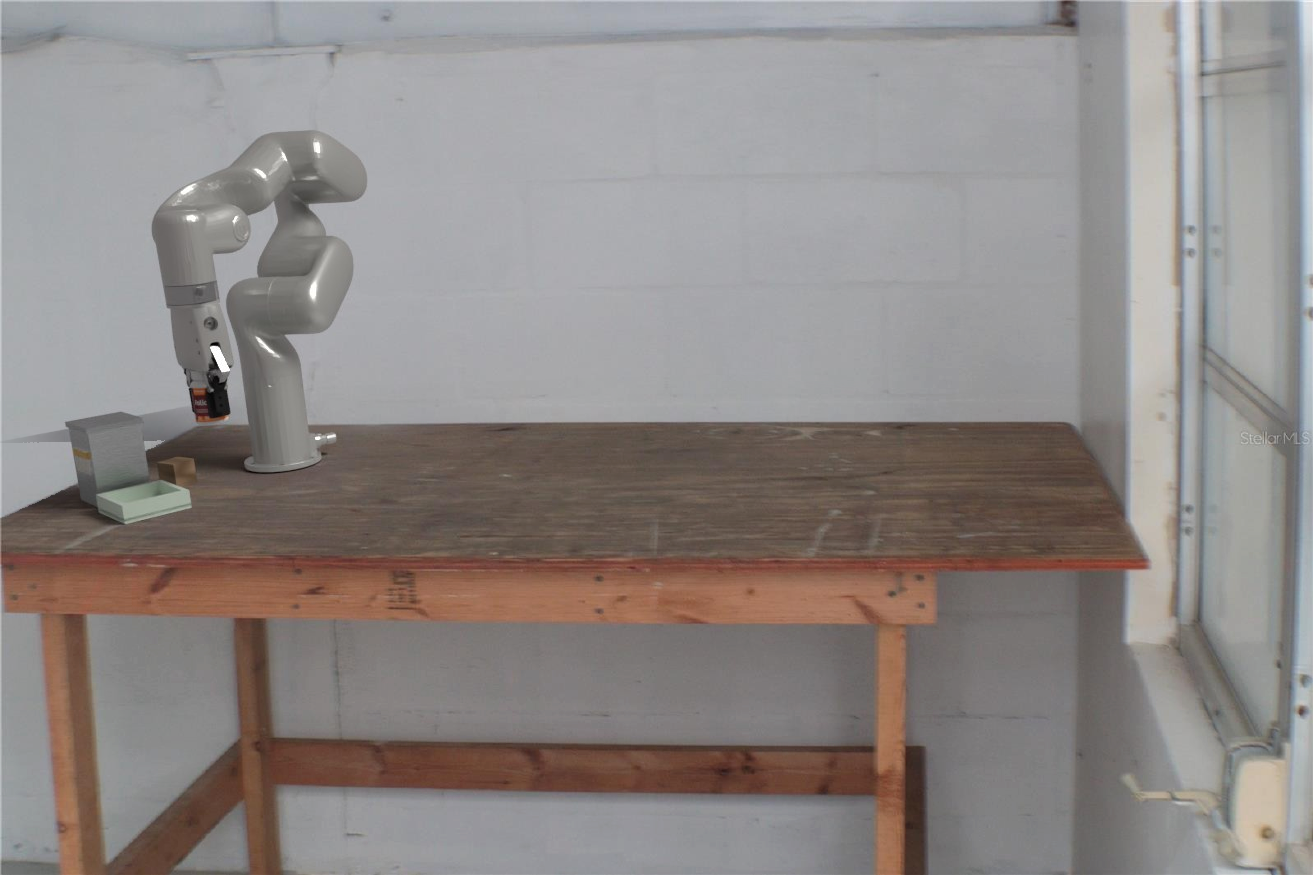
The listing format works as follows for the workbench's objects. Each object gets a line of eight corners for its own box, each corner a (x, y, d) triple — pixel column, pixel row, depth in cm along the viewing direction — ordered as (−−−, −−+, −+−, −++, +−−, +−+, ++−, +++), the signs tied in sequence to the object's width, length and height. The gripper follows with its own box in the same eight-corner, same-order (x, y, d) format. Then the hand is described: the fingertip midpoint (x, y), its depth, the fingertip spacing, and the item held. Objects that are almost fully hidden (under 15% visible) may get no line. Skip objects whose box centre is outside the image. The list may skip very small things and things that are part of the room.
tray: (163, 496, 190) (161, 479, 189) (191, 507, 183) (189, 489, 182) (98, 512, 183) (95, 494, 182) (125, 524, 176) (122, 505, 175)
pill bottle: (195, 427, 182) (185, 373, 180) (197, 420, 187) (188, 367, 184) (228, 423, 183) (219, 369, 181) (229, 416, 188) (221, 363, 185)
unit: (134, 487, 197) (122, 411, 194) (156, 495, 191) (144, 417, 188) (77, 500, 191) (64, 422, 188) (98, 509, 185) (85, 429, 182)
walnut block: (180, 480, 200) (177, 456, 199) (197, 482, 198) (193, 458, 197) (160, 486, 197) (156, 462, 196) (177, 488, 195) (173, 464, 194)
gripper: (242, 295, 176) (261, 416, 181) (191, 287, 188) (210, 401, 193) (192, 303, 171) (213, 427, 176) (143, 294, 183) (164, 411, 188)
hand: (211, 412), depth 185 cm, fingers closed on pill bottle, 4 cm apart
